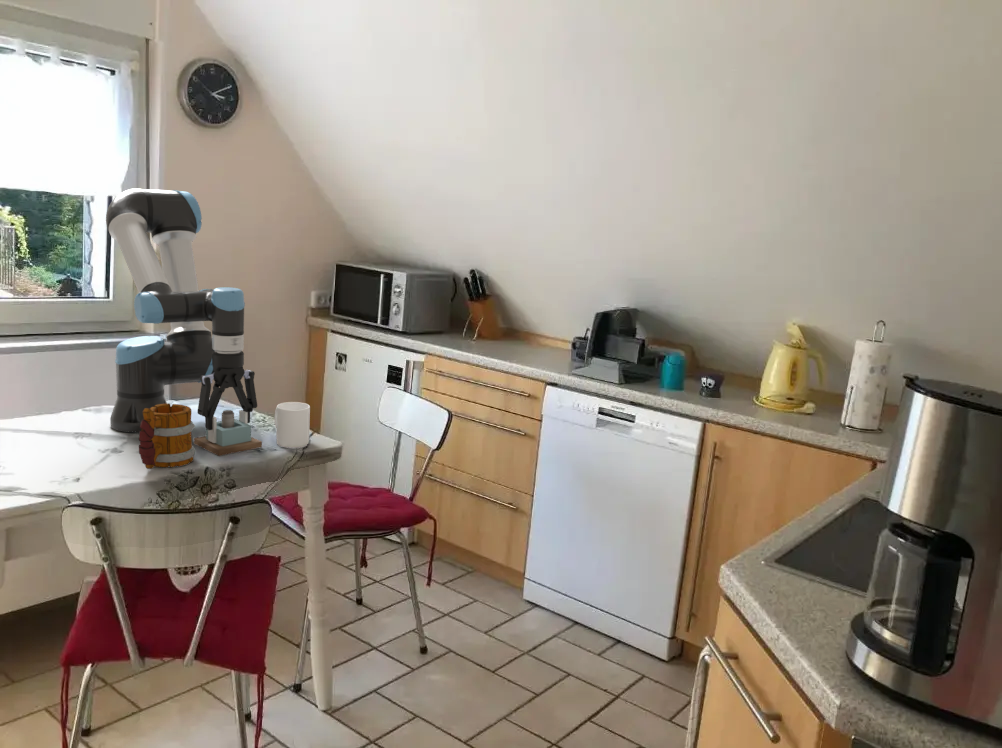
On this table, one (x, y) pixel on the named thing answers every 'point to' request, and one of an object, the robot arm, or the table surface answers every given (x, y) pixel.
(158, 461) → the mug
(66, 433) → the table surface
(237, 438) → the ring
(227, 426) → the post block
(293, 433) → the cup
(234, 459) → the table surface
